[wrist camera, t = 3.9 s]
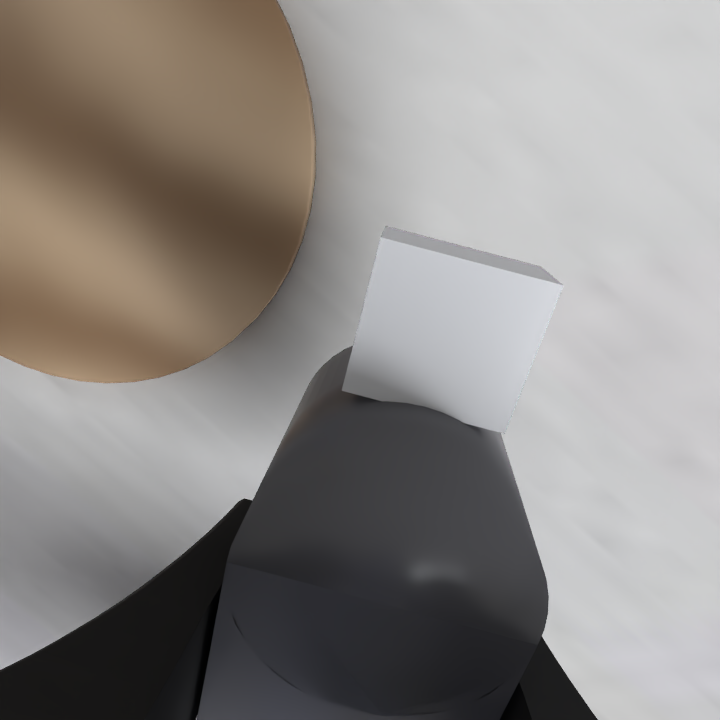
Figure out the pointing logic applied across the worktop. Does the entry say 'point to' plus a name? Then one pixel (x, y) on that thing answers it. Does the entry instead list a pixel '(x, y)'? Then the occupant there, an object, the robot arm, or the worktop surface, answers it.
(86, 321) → the round copper disc
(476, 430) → the dark grey rounded block
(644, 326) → the worktop surface
